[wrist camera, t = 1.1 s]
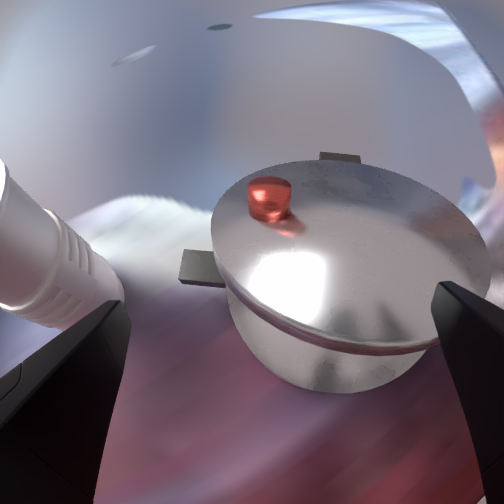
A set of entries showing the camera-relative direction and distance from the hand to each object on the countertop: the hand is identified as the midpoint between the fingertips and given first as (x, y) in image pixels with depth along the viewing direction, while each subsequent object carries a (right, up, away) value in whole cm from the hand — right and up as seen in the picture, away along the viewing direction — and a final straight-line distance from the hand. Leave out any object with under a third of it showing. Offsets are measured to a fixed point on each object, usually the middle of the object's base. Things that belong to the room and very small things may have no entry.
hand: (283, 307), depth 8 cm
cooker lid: (+4, +2, +7) cm, 9 cm away
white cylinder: (-14, -3, +16) cm, 21 cm away
